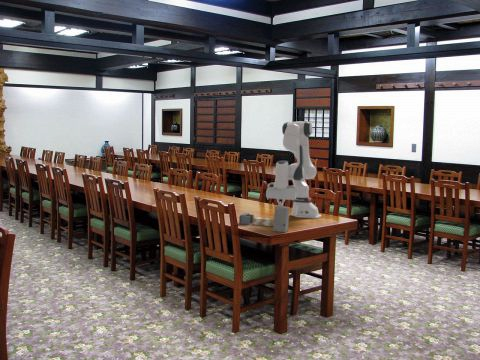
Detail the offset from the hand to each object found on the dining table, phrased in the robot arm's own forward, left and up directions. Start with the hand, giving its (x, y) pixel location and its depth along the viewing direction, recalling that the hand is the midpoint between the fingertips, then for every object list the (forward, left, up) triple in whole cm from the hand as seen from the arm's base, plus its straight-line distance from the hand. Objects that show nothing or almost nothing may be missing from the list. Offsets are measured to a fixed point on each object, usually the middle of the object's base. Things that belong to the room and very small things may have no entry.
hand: (280, 205), depth 336 cm
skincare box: (-5, +14, -14) cm, 20 cm away
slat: (+12, 0, -14) cm, 18 cm away
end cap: (+24, 0, -14) cm, 28 cm away
